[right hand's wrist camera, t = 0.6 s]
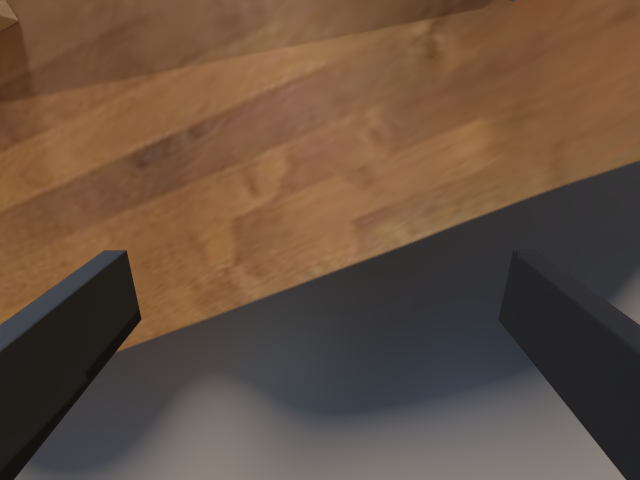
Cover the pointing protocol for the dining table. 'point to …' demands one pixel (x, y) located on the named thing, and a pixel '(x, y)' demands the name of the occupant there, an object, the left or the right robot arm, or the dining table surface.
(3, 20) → the plank
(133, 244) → the dining table surface
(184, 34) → the dining table surface
